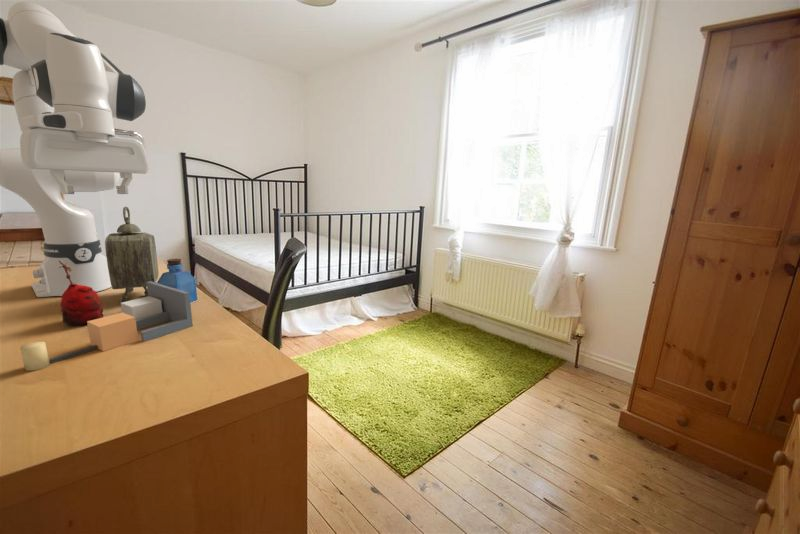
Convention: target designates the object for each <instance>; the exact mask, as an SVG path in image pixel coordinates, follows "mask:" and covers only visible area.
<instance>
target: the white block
mask: <svg viewBox="0 0 800 534" xmlns="http://www.w3.org/2000/svg"><path fill="white" fill-rule="evenodd" d="M120 309H121V312H122V313H125V314H128V315H130V316H133V317H135V320H137V319H141V318H144V317H148V316H152V315H155V314H159V313H163V312H162V304H161V300H159V299H156V298H153V297H150V296H145V297H141V298H135V299H131V300H127V302H122V303H121V302H120Z"/></svg>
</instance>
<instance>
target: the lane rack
mask: <svg viewBox="0 0 800 534" xmlns="http://www.w3.org/2000/svg"><path fill="white" fill-rule="evenodd" d="M146 283H147V290H148V296H150V297H153V298H156V299H159V300H161V304H162V312H163V313H159V314H155V315H152V316H148V317H144V318H141V319H137V320H136V327H137V331H138V330H141V331H140V337H141V342H148V341H151V340H154V339H157V338H159V337H162V336H166V335H169V334H172V333H175V332H179V331H181V330H184V329H188V328H190V327H193V326H194V325H193V316H192V308H191V307H192V306H191V305H192V303H191V304H190V295H189V292H186V291H182V290H179V289H176V288H172V287H169V286H166V285H162V284H159V283H157V282H152V281H149V282H146ZM148 296H147V297H148ZM119 313H122V311H121V312H118V313H114V314H110V315H105V317H107V316H111V315H115V314H119ZM166 322H168V323H166ZM162 323H163V324H162ZM164 323H165V324H164ZM159 324H161V325H159ZM155 325H156V326H155ZM157 325H158V326H157ZM151 326H154V327H151ZM149 327H151V328H149ZM145 328H147V329H145ZM143 329H145V330H143Z"/></svg>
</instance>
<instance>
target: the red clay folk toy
mask: <svg viewBox="0 0 800 534" xmlns="http://www.w3.org/2000/svg"><path fill="white" fill-rule="evenodd" d="M59 262H60V264H62V265H63V266H61V267H63V268H64V270H65V272H66V274H67V275H66V278H67V279H69V281H70V285H69V286H68V288H67V289H66V290H65V292H64V293H63V294H62V296H61V303H60V307H61V309H60V311H61V314H62V316H61V317H62V321H63V324H65V325H67V326H84V325H86V326H88V324H87V321H91V320H95V319H99V318H103V317H104V314H103V313H104V308H103V304H102V303H103V302H101V299H100V298H99V295H98V293H97V292H96V291H94V290H93V289H92V288H91V287H88V286H84V285H77V284H74V283H72V281H71V279H70V276H71V275H69V274H68V271H71V268H70V267H66V264H67V262H66V264H63V263H62V262H61V261H59ZM61 267H59V268H61ZM67 270H68V271H67Z"/></svg>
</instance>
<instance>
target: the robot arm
mask: <svg viewBox="0 0 800 534" xmlns="http://www.w3.org/2000/svg"><path fill="white" fill-rule="evenodd" d="M3 65H4V66H8V67H11V68H15V69H18V70H19V71H17V72H16V73H14V75H13V77H12V86H11V87H12V88H11V89H12V91H11V92H12V99H13V104H14V109H15V111H16V117H17V120H18V125H19V128H20V131H21V135H20V138H19V140H20V141H19V142H20V143H19V147H17V148H16V147H15V148H13V147H12V148H2V149H1V148H0V186H1V187H2V188H4V189H7V190H8V191H11V192H12V193H14V194H16V195H18V196H19V197H20V198H22V199H23V200H24V201H25V202H26V203H27V204H28V205H30V206H31V208H32V209H33V210H34V212H35V213H36V215H37V217H38V220H39V223H40V226H41V228H42V229H41V230H42V233H43V238H44V243H43V248H42V249H43V255H44V259H43V261H42V263H41V264H40V266H39V268H38V269H35V270H32V276H33V279H39V281H34V282H32V283H31V288H33V289H32V290H34V291H33V292H35V293H34V294H36V295H35V296H37V297H36V298H45V297H62V294H63V293H64V292H65V290H66V289H67V288H68V286H69V285H70V281H69V279H67V278H66V275H67V274H66V272H65V270H64V268H63V267H61V266H63V265H62V264H60V262H59V261H61V262H62V263H63V264H66V262H67V264H66V267H70V268H71V271H68V270H67V271H68V274H69V275H71V276H70V279H71V281H72V283H74V284H77V285H84V286H88V287H91V288H92V289H93V290H94V291H96V293H97V292H100V291H101V292H102V291H104V290H108V289H110V288H112V286H111V282H110V276H109V271H108V265H107V257H106V256H105V255H104V254H102V251H103V250H102V244H101V240H100V239H98V233H97V226H96V221H95V220H96V219H95V216H94V214H93V213H92V212H91V211H90V210H88V209H87V208H85V207H83V206H80V205H77V204H73V203H70V202H67V201H65V199H63V197H62V195H75V193H98V192H105V191H111V190H114V189H115V188H116V193H117V194H118V195H128V194H129V188H128V187H129V186H130V183H131V182H132V180H133V174H142V175H143V174H144V175H145V174H147V173H148V172H149V170H150V165H149V160H148V155H147V153H146V143H145V139H144V138H143V136H142V135H141V134H139V133H137V132H136V131H134V130H124V129H120V128H115V125H114V119H113V118H116V119H118V120H122V121H123V120H124V121H128V122H132V121H134V120H136V119H138V118H139V117H141V116H142V115H144V113H145V111H146V106H147V105H146V104H147V103H146V102H147V101H146V95H145V92H144V90H143V88H142V86H141V85H140V84H139V82H138V81H137V80H136V79H135V78H134V77H133V76H132V75H130V74H127V73H123V72H122V70H121V69H120V68H119V67H118V66H116V65H115V64H114V63H113V62H112V60H110V59H109V58H108V57H106V56H105V55H104V54H103V53H102V52H101V51H100V48H99V46H97V45H96V44H95V43H94V42H91V41H89V40H87V39H84V38H81V37H77V36H76V35H75V34H74V33H72V32H71V31H70V30H69V29H67V27H66V26H65V24H64V23H63V22H62V21H61V20H60V18H58V17H57V16H56V15H55V14H53V12H51V11H50V10H48V9H47V8H45V7H44V6H42V5H40V4H38V3H34V2H30V1H20V2H19V1H17V2H16V3H13V4H12V5H11V6H10V8H9V10H8V12H7V19H4V18H1V17H0V66H3ZM121 179H122V181H121V182H120V180H121ZM119 182H120V185H119ZM61 194H62V195H61ZM59 267H61V268H59Z"/></svg>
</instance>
